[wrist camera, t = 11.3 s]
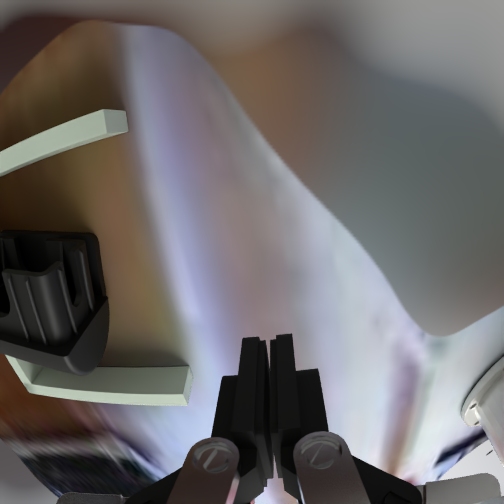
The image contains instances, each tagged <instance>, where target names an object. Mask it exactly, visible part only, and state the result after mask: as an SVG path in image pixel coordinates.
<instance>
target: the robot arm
mask: <svg viewBox="0 0 504 504" xmlns="http://www.w3.org/2000/svg"><path fill="white" fill-rule="evenodd" d="M461 417H462V419H463V421H464V423H465V424H466V425H467V426H470V427H475V426H480V425H481V426H482V428H483V429H484V431H485V433H486V435H487V437H488V438H489V440H490V442H491V444H492V446H493V447H494V450H495V451H496V453H497V455H498V457H499V459H500V461H501V463H502V465H503V467H504V356H503V357H502V358H501V359H500V360H499V361H498V362H497V363H496V364H494V365H493V367H492V368H491V369H490V370H489V371H488V372H487V373H486V374H485V375H484V376H483V377H482V378H481V379H480V380H479V382H478V383H477V384H476V386H475V387H474V388H473V389H472V391H471V393H470V394H469V395H468V397H467V399H466V401H465V403H464V405H463V408H462V412H461ZM274 456H275V462H276V468H277V473H278V478H283V483H284V489H285V491H286V492H287V493H289V494H290V495H292V496H293V497H295V498H296V499H297V504H504V496H501V492H500V485H499V482H498V480H497V479H496V478H495V477H494V476H493V475H491V474H488V473H481V474H476V475H471V476H466V477H460V478H454V479H448V480H441V481H434V482H426V483H425V485H418V486H414V485H412V484H411V483H408V482H406V481H404V480H402V479H399V478H397V477H395V476H393V475H391V474H389V473H386V472H384V471H382V470H380V469H378V468H376V467H374V466H372V465H370V464H368V463H366V462H364V461H362V460H360V459H358V458H356V457H354V456H352V455H351V453H350V450H349V448H348V445H347V444H346V442H345V441H344V439H343V438H341V437H340V436H339V435H337V434H334V433H332V432H329V430H328V424H327V417H326V411H325V405H324V399H323V393H322V388H321V382H320V376H319V371H318V368H317V369H309V370H300V371H296V368H295V358H294V348H293V338H292V334H283V335H276V339H274V340H270V368H269V361H268V353H267V346H266V341H265V340H263V341H260V339H259V337H248V338H243V339H242V347H241V355H240V363H239V371H238V375H234V376H223V377H222V380H221V385H220V391H219V396H218V402H217V407H216V413H215V418H214V424H213V429H212V435H211V438H206V439H203V440H201V441H199V442H197V443H196V444H195V445H194V446H192V447H191V449H190V451H189V452H188V454H187V457H186V459H185V461H184V464H183V466H182V467H181V468H180V469H178V470H176V471H175V472H173V473H171V474H170V475H168V476H166V477H164V478H163V479H161V480H159V481H157V482H156V483H154V484H152V485H150V486H148V487H147V488H145V489H143V490H141V491H139V492H137V493H135V494H133V495H132V496H131V497H122V496H121V495H101V494H86V493H74V492H71V493H66V494H64V495H62V496H61V497H60V498H59V499H58V500H57V503H56V504H254V503H255V498H256V497H257V496H259V495H260V494H261V493H263V492H264V487H267V479H271V478H273V470H274Z"/></svg>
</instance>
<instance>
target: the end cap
mask: <svg viewBox="0 0 504 504" xmlns="http://www.w3.org/2000/svg"><path fill="white" fill-rule="evenodd" d="M108 332H109V303H108V297H107V296H106V289H105V283H104V277H103V270H102V263H101V256H100V248H99V242H98V239H97V237H96V236H95V235H94V234H92V233H82V232H52V231H19V230H4V231H2V232H0V353H2V354H5V355H8V356H11V357H14V358H17V359H20V360H23V361H26V362H30V363H33V364H37V365H40V366H44V367H47V368H51V369H55V370H58V371H62V372H66V373H70V374H75V375H79V376H83V375H88V374H89V373H91V372H92V371H93V370H94V369H95V368H96V367H97V366H98V364H99V363H100V361H101V358H102V356H103V354H104V350H105V347H106V343H107V338H108Z"/></svg>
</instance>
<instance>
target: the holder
mask: <svg viewBox="0 0 504 504" xmlns="http://www.w3.org/2000/svg"><path fill="white" fill-rule="evenodd" d="M125 132H129V130H128V124H127V117H126V111H121V110H108V109H102V110H99V111H96V112H93V113H90V114H88V115H85V116H82V117H79V118H76V119H74V120H71V121H69V122H66V123H63V124H61V125H58V126H56V127H53V128H51V129H49V130H46V131H44V132H41V133H39V134H37V135H35V136H32V137H30V138H28V139H26V140H24V141H22V142H19V143H17V144H15V145H13V146H11V147H9V148H7V149H5V150H3V151H1V152H0V177H1V176H4V175H6V174H8V173H10V172H13V171H15V170H17V169H20V168H22V167H24V166H27V165H29V164H32V163H34V162H37V161H39V160H42V159H45V158H47V157H50V156H53V155H55V154H58V153H61V152H64V151H67V150H70V149H73V148H75V147H78V146H82V145H85V144H88V143H91V142H94V141H97V140H101V139H104V138H107V137H111V136H114V135H118V134H122V133H125ZM6 357H7V359H8V360H9V362H10V364H11V365H12V367H13V368H14V370H15V372H16V373H17V375H18V376H19V378H20V379H21V381H22V382H23V384H24V385H25V387H26V388H27V390H28V391H29V393H34V394H40V395H46V396H52V397H59V398H66V399H74V400H82V401H92V402H102V403H115V404H132V405H162V406H188V403H189V397H190V392H191V387H192V382H193V375H192V373H191V370H190V367H189V366H182V367H144V368H123V367H96V368H95V369H94V370H93V371H92V372H91V373H89V374H88V375H83V376H79V375H75V374H70V373H66V372H62V371H58V370H55V369H51V368H47V367H44V366H40V365H37V364H33V363H30V362H26V361H23V360H20V359H17V358H14V357H11V356H8V355H6Z"/></svg>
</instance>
